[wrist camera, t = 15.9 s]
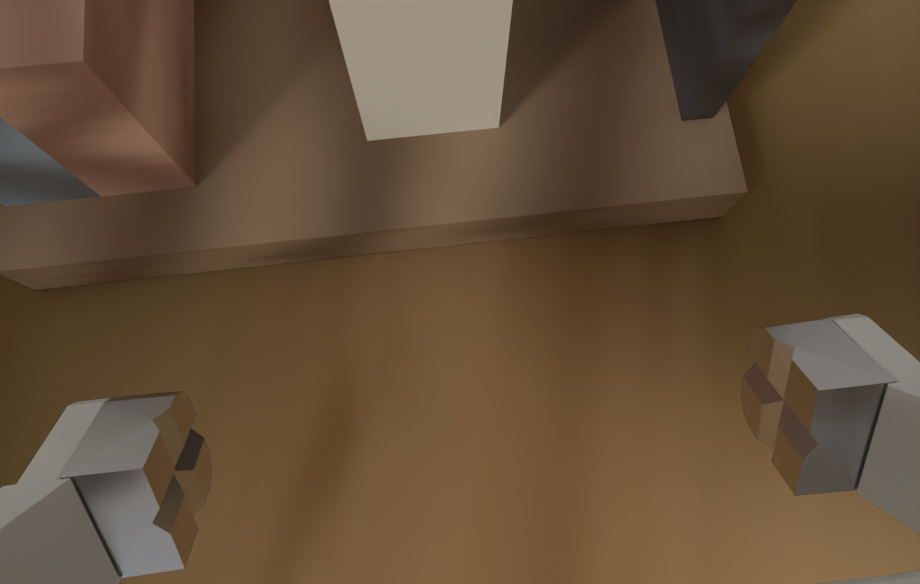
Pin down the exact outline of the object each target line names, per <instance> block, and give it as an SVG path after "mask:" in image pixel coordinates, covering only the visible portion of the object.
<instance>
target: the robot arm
mask: <svg viewBox="0 0 920 584" xmlns="http://www.w3.org/2000/svg"><path fill="white" fill-rule="evenodd" d="M747 352H748V354H749V355H750V356H751V358H752V359H753V360H754V362H755V364H754V365H753V366H752V367H751V369H750V370H749V371H748V372H747V373H746V374H745V375H744V376H743V383H742V392H741V398H742V405H743V411H744V415H745V418H746V420H747V423H748V425H749V427H750V429H751V431H752V432H753V434H754V435H755V437H756V438H757V439H758V440H760V441H761V442H763V443H765V444H767V445H769V446H771V447H772V448H774V451H773V456H772V462H773V464H774V465H775V467H776V468H777V470H778V471H779V473H780V474H781V476H782V477H783V479H784V480H785V482H786V483H787V485H788V486H789V488H790V489H791V491H792V492H793V493H794V495H795V496H798V495H809V494H819V493H830V492H841V491H852V490H857V492H856V493H857V494H859V495H860V496H862V497H863V498H865V499H866V500H868V501H869V502H871V503H872V504H874V505H876V506H877V507H879V508H880V509H882V510H883V511H885V512H886V513H888V514H889V515H891V516H892V517H894V518H895V519H897V520H898V521H900V522H901V523H903V524H904V525H906V526H908V527H909V528H911V529H912V530H914V531H915V532H917V533H918V534H920V362H919V361H918V360H917V359H915V358H914V357H913V356H912V355H911V354H910V353H909V352H907V351H906V350H905V349H904V348H903V347H902V346H901V345H899V344H898V343H897V342H896V341H895V340H894V339H893V338H892V337H890V336H889V335H888V334H887V333H886V332H885V331H884V330H882V329H881V328H880V327H879V326H878V325H877V324H876V323H874V322H873V321H872V320H871V319H870V318H869V317H867V316H864V315H861V314H851V315H844V316H837V317H830V318H824V319H822V320H814V321H806V322H798V323H790V324H782V325H774V326H765V327H757V328H754V330H753V332H752V334H751V336H750V338H749V344H748V349H747ZM195 416H196V413H195V410H194V407H193V405H192V402H191V400H190V397H189V396H188V395H187V394H185V393H184V392H182V391H179V392H168V393H157V394H146V395H135V396H124V397H113V398H111V399H109V398H104V399H95V400H86V401H77V402H75V403H73V404H70V405H68V406H67V407H66V409H65V410H64V412H63V413H62V415H61V416H60V418H59V420H58V421H57V423H56V424H55V426H54V427H53V429H52V430H51V432H50V433H49V435H48V436H47V438H46V439H45V441H44V442H43V444H42V445H41V447H40V449H39V450H38V452H37V453H36V455H35V456H34V458H33V459H32V461H31V462H30V464H29V465H28V467H27V468H26V470H25V471H24V473H23V475H22V476H21V478H20V479H19V481H18V482H17V484H14V485H6V486H3V487H2V488H0V584H119V583H120V582H121V580H120V578H126V577H132V576H139V575H146V574H153V573H160V572H166V571H173V570H180V569H185V567H186V564H187V561H188V557H189V554H190V551H191V548H192V545H193V542H194V539H195V536H196V533H197V529H198V528H197V526H196V523H195V520H194V518H193V515H194V514H195V513H196V512H197V511H198V510H199V509H200V508H201V507H202V506H204V505H205V504H206V501H207V497H208V494H209V490H210V483H211V462H210V455H209V450H208V447H207V444H206V441H205V438H203V437H202V436H201V435H199V434H198V433H196V432H195V431H194V430H192V429H191V427H192V424H193V421H194V419H195ZM817 584H920V571H913V572H905V573H897V574H889V575H881V576H873V577H865V578H857V579H849V580H841V581H833V582H825V583H817Z"/></svg>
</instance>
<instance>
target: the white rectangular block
mask: <svg viewBox="0 0 920 584" xmlns="http://www.w3.org/2000/svg"><path fill="white" fill-rule="evenodd" d="M329 3H330V7H331V11H332V14H333V18H334V21H335V25H336V29H337V32H338V36H339V40H340V43H341V47H342V51H343V54H344V58H345V61H346V65H347V69H348V72H349V76H350V80H351V83H352V87H353V91H354V94H355V98H356V101H357V105H358V109H359V112H360V116H361V120H362V123H363V127H364V131H365V134H366V138H367V141H371V140H381V139H391V138H401V137H411V136H421V135H431V134H441V133H450V132H460V131H470V130H480V129H490V128H499V121H500V112H501V103H502V94H503V85H504V76H505V67H506V58H507V49H508V40H509V31H510V22H511V13H512V4H513V0H329Z"/></svg>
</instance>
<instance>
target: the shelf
mask: <svg viewBox="0 0 920 584" xmlns="http://www.w3.org/2000/svg"><path fill="white" fill-rule="evenodd" d="M796 1H797V0H513V4H512V13H511V22H510V31H509V40H508V49H507V58H506V67H505V76H504V85H503V94H502V103H501V112H500V121H499V128H490V129H480V130H470V131H460V132H450V133H441V134H431V135H421V136H411V137H401V138H391V139H381V140H371V141H367V138H366V134H365V131H364V127H363V123H362V120H361V116H360V112H359V109H358V105H357V101H356V98H355V94H354V91H353V87H352V83H351V80H350V76H349V72H348V69H347V65H346V61H345V58H344V54H343V51H342V47H341V43H340V40H339V36H338V32H337V29H336V25H335V21H334V18H333V14H332V11H331V7H330V3H329V0H0V275H2V276H5V277H7V278H9V279H11V280H14V281H16V282H18V283H20V284H23V285H25V286H27V287H29V288H32V289H34V290H42V289H52V288H61V287H70V286H79V285H89V284H98V283H107V282H117V281H126V280H135V279H145V278H154V277H163V276H173V275H182V274H191V273H201V272H210V271H219V270H229V269H238V268H247V267H257V266H266V265H275V264H285V263H294V262H303V261H313V260H322V259H331V258H341V257H350V256H359V255H368V254H378V253H387V252H396V251H406V250H415V249H424V248H434V247H443V246H452V245H462V244H471V243H480V242H490V241H499V240H508V239H518V238H527V237H536V236H546V235H555V234H564V233H574V232H583V231H592V230H602V229H611V228H620V227H630V226H639V225H648V224H657V223H667V222H676V221H685V220H695V219H704V218H713V217H723V216H724V215H725V214H726V213H727V212H728V211H729V210H730V209H731V208H732V207H733V206H734V205H735V204H736V203H737V202H738V201H739V200H740V199H741V198H742V197H743V196H744V195H745V194H746V193H747V192H748V189H747V185H746V181H745V177H744V172H743V168H742V164H741V160H740V156H739V152H738V147H737V143H736V139H735V135H734V131H733V126H732V122H731V118H730V114H729V110H728V105H727V101H726V100H727V99H728V97H729V96H730V94H731V93H732V91H733V90H734V89H735V87H736V86H737V84H738V83H739V82H740V80H741V79H742V77H743V76H744V74H745V73H746V72H747V70H748V69H749V67H750V66H751V64H752V63H753V62H754V60H755V59H756V57H757V56H758V55H759V53H760V52H761V50H762V49H763V47H764V46H765V45H766V43H767V42H768V40H769V39H770V38H771V36H772V35H773V33H774V32H775V30H776V29H777V28H778V26H779V25H780V23H781V22H782V20H783V19H784V18H785V16H786V15H787V13H788V12H789V11H790V9H791V8H792V6H793V5H794V3H795V2H796Z"/></svg>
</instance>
